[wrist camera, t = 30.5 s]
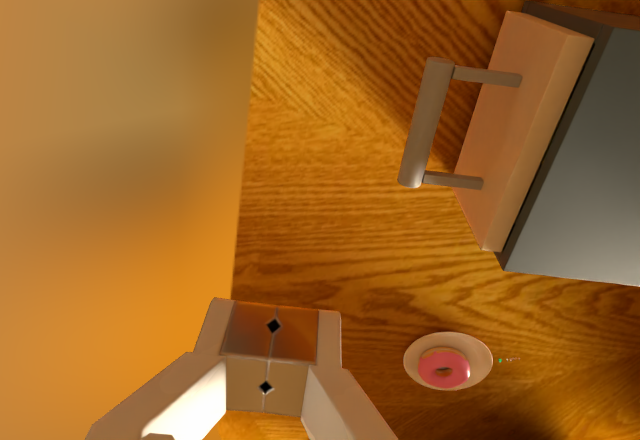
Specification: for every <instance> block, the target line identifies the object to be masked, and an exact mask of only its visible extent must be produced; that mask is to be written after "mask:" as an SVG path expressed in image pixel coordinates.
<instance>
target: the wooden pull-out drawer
mask: <svg viewBox="0 0 640 440" xmlns="http://www.w3.org/2000/svg"><path fill="white" fill-rule="evenodd" d="M594 40H595V39H594V38H592V37H589V36H586V35H584V34H581V33H578V32H576V31H573V30H570V29H567V28H565V27H562V26H559V25H556V24H554V23H551V22H548V21H546V20H543V19H540V18H537V17H535V16H532V15H529V14H526V13H520V12H513V11H506V14H505V17H504V20H503V23H502V26H501V29H500V32H499V35H498V38H497V42H496V45H495V48H494V51H493V54H492V57H491V60H490V63H489V66H488V69H481V68H473V67H466V66H458V65H455V62H453V61H452V60H449V59H446V58H441V57H428V58H427V61H426V65H425V69H424V73H423V77H422V81H421V85H420V89H419V93H418V97H417V101H416V105H415V109H414V114H413V118H412V122H411V126H410V130H409V134H408V138H407V142H406V146H405V150H404V154H403V158H402V162H401V166H400V171H399V175H398V179H397V180H398V182H399V183H400V184H401V185H403V186H405V187H409V188H417V187H419V186H420V185H421V182H422V183H426V184H434V185H442V186H450V187H451V188H452V190H453V192H454V194H455V196H456V198H457V200H458V203H459V205H460V207H461V209H462V211H463V213H464V215H465V217H466V220H467V222H468V224H469V226H470V228H471V230H472V232H473V234H474V236H475V239H476V241H477V243H478V245H479V247H480V249H481V250H486V251H494V252H501V251H502V249H503V247H504V244H505V242H506V240H507V238H508V235H509V233H510V231H511V229H512V226H513V224H514V223H515V224H516V222H517V220H518V218H519V215H520V213H521V211H522V209H523V206H524V204H525V202H526V200H527V197H528V195H529V193H530V190H531V188H532V186H533V184H534V181H535V179H536V177H537V175H538V172H539V170H540V168H541V166H542V164H541V160H542V158H543V156H544V154H545V151H546V149H547V147H548V145H549V142H550V140H551V138H552V135H553V133H554V131H555V129H556V126H557V124H558V122H559V120H560V117H561V115H562V113H563V110H564V108H565V106H566V104H567V101H568V99H569V97H570V95H571V92H572V90H573V88H574V85H575V83H576V81H577V79H578V76H580V77H581V75H582V73H583V71H584V69H585V66H586V64H587V62H588V60H589V57H590V55H591V53H592V51H593V48H594V46H595V44H594V43H593V42H594ZM451 78H452V79H455V80H463V81H470V82H478V83H483V85H482V88H481V91H480V94H479V97H478V100H477V103H476V106H475V110H474V113H473V116H472V119H471V122H470V125H469V128H468V131H467V134H466V137H465V140H464V143H463V147H462V150H461V153H460V156H459V159H458V162H457V165H456V168H455V171H454V174H451V173H443V172H435V171H427V170H425V168H426V165H427V161H428V158H429V154H430V150H431V147H432V143H433V140H434V136H435V133H436V129H437V126H438V122H439V118H440V115H441V111H442V108H443V104H444V101H445V97H446V94H447V90H448V87H449V83H450V79H451Z"/></svg>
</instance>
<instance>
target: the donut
mask: <svg viewBox="0 0 640 440" xmlns="http://www.w3.org/2000/svg"><path fill="white" fill-rule="evenodd" d="M506 359H507V358H506ZM515 359H516V358H515ZM510 360H511V358H510ZM513 360H514V358H513ZM519 360H520V358H519ZM498 361H499V362H501V361H502V359H501V358H499V359H498ZM507 361H508V359H507ZM492 363H493V358H492V354H491V352H490V350H489V348H488V347H487V346H486V345H485V344H484V343H483V342H481V341H480V340H479V339H477V338H475V337H473V336H470V335H467V334H464V333H459V332H437V333H432V334H429V335H426V336H423V337H421V338H419V339H418V340H416V341H415V342H413V343H412V344H411V345H410V346H409V347H408V349H407V350H406V352H405V354H404V358H403V364H404V368H405V370H406V372H407V373H408V375H409V376H410V377H411V378H412V379H413V380H415V381H416V382H418V383H419V384H421V385H423V386H426V387H429V388H432V389H437V390H459V389H464V388H467V387H470V386H473V385H475V384H477V383H478V382H480V381H481V380H483V379H484V378H485V377H486V376H487V375H488V373H489V372H490V370H491V368H492Z"/></svg>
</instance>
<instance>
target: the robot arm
mask: <svg viewBox="0 0 640 440" xmlns="http://www.w3.org/2000/svg"><path fill="white" fill-rule="evenodd" d="M226 410H235V411H249V412H262V413H270V414H278V415H286V416H293V417H301V419H300V420H301V422H302V424H303V426H304V428H305V430H306V432H307V434H308V437H309V439H310V440H399V439H398V438H397V437H396V435H395V434H394V432H393V431H392V430H391V428H390V427H389V426H388V424H387V423H386V421H385V420H384V419H383V417H382V416H381V414H380V413H379V412H378V410H377V409H376V407H375V406H374V405H373V403H372V402H371V400H370V399H369V398H368V396H367V395H366V393H365V392H364V391H363V389H362V388H361V387H360V385H359V384H358V382H357V381H356V380H355V378H354V377H353V375H352V374H351V373H350V371H349V370H348V369H343V368H342V357H341V314H340V312H339V311H330V310H320V309H319V311H318V309H310V308H300V307H290V306H280V305H270V304H262V303H255V302H248V301H240V300H229V299H222V298H214V299H213V300H212V301H211V303H210V306H209V309H208V311H207V314H206V317H205V320H204V323H203V325H202V328H201V332H200V334H199V337H198V340H197V342H196V346H195V348H194V351H193V352H186V353H184V354H183V355H182V356H181V357H179V358H178V359H177V360H175V361H174V362H173V363H171V364H170V365H169V366H167V367H166V368H165V369H164V370H162V371H161V372H160V373H158V374H157V375H156V376H155V377H153V378H152V379H151V380H149V381H148V382H147V383H146V384H144V385H143V386H142V387H140V388H139V389H138V390H136V391H135V392H134V393H133V394H132V395H130V396H129V397H127V398H126V399H125V400H124V401H122V402H121V403H120V404H118V405H117V406H116V407H114V408H113V409H112V410H111V411H109V412H108V413H107V414H106V415H104V416H103V417H102V418H100V419H99V420H98V421H96V422H95V423H94V424H93V425H92V426H91V429H90V430H89V432H88V434H87V436H86V438H85V440H202V439H203V438H204V437H205V435H206V434H207V433H208V432H209V431H210V430H211V429H212V427H213V426H214V425H215V424H216V423H217V422H218V421H219V419H220V418H221V417H222V416H223V415H224V414H225V413H226Z"/></svg>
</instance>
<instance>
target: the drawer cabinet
mask: <svg viewBox="0 0 640 440" xmlns="http://www.w3.org/2000/svg"><path fill="white" fill-rule="evenodd" d="M521 13H526V14H529V15H532V16H535V17H537V18H540V19H543V20H546V21H548V22H551V23H554V24H556V25H559V26H562V27H565V28H567V29H570V30H573V31H576V32H578V33H581V34H584V35H586V36H589V37H592V38H594V39H595V40H594V42H593V43H594V44H595V46H594V48H593V51H592V53H591V55H590V57H589V60H588V62H587V64H586V66H585V69H584V71H583V73H582V75H581V78H580V80H579V82H578V84H577V87H576V89H575V91H574V93H573V96H572V98H571V100H570V103H569V105H568V107H567V109H566V112H565V114H564V116H563V118H562V121H561V123H560V125H559V127H558V130H557V132H556V134H555V136H554V139H553V141H552V143H551V145H550V148H549V150H548V152H547V154H546V157H545V159H544V161H543V163H542V166H541V168H540V170H539V172H538V175H537V177H536V179H535V181H534V184H533V186H532V188H531V190H530V193H529V195H528V197H527V200H526V202H525V204H524V206H523V209H522V211H521V213H520V215H519V218H518V220H517V222H516V224H515V223H514V224H513V226H512V229H511V231H510V233H509V235H508V238H507V240H506V242H505V244H504V247H503V249H502V251H501V252H494V251H493V252H494V254H495V256H496V258H497V260H498V261H499V264H500V266H501V268H502V270H503V271H510V272H518V273H527V274H536V275H544V276H553V277H562V278H570V279H579V280H587V281H596V282H605V283H613V284H622V285H631V286H639V287H640V16H634V15H627V14H620V13H613V12H606V11H599V10H592V9H585V8H578V7H570V6H563V5H556V4H549V3H542V2H535V1H528V0H526V1H525V3H524V6H523V8H522V11H521Z"/></svg>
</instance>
